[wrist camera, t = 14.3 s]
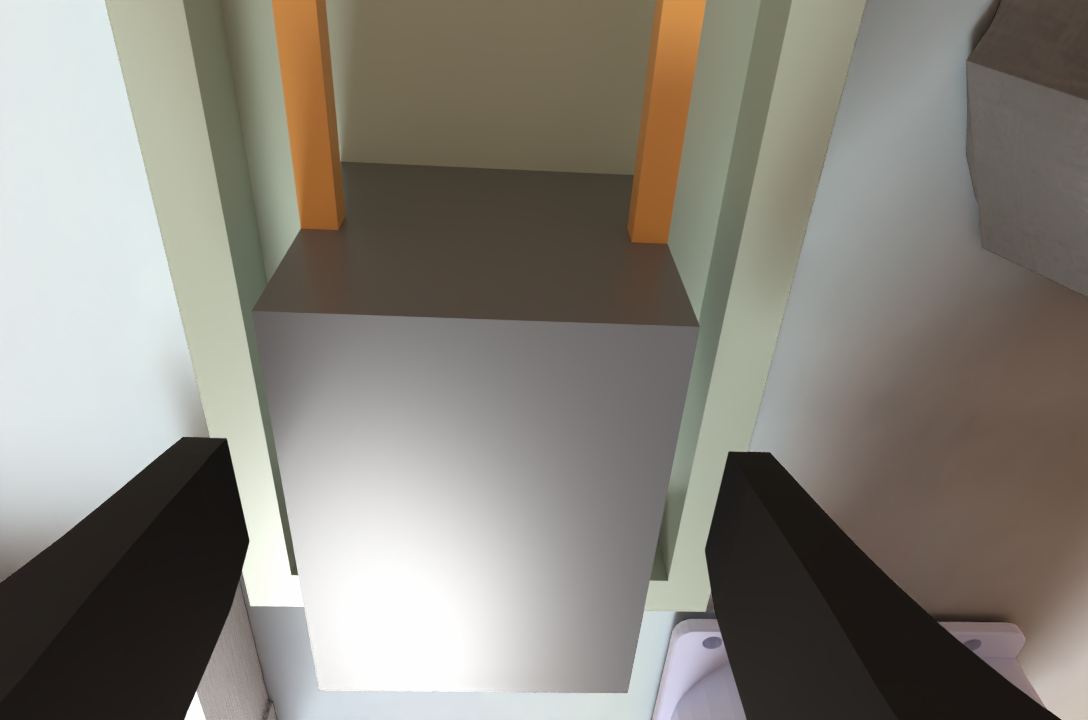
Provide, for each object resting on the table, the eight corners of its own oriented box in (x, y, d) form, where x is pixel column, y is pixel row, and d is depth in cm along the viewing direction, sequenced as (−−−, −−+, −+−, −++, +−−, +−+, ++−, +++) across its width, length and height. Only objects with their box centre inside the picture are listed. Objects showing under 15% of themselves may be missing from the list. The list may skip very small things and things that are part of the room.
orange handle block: (688, -191, 10) (810, -229, 6) (599, 484, 17) (627, 692, 12) (306, -219, 10) (146, -281, 6) (369, 478, 16) (318, 690, 12)
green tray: (909, -427, 9) (995, -492, 8) (688, 544, 19) (705, 611, 17) (69, -502, 9) (-37, -591, 7) (275, 537, 18) (250, 606, 16)
